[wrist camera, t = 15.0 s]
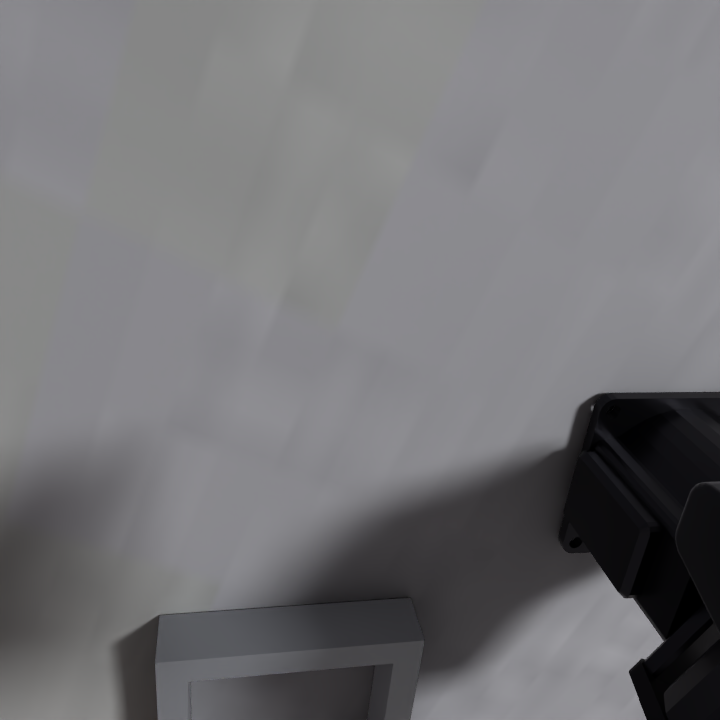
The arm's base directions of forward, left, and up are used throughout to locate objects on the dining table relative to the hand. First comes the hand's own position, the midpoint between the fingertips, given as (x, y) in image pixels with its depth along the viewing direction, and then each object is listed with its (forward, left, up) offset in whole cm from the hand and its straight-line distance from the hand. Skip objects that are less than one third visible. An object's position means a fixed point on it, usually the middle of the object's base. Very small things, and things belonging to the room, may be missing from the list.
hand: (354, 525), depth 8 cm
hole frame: (-1, +18, -12) cm, 22 cm away
